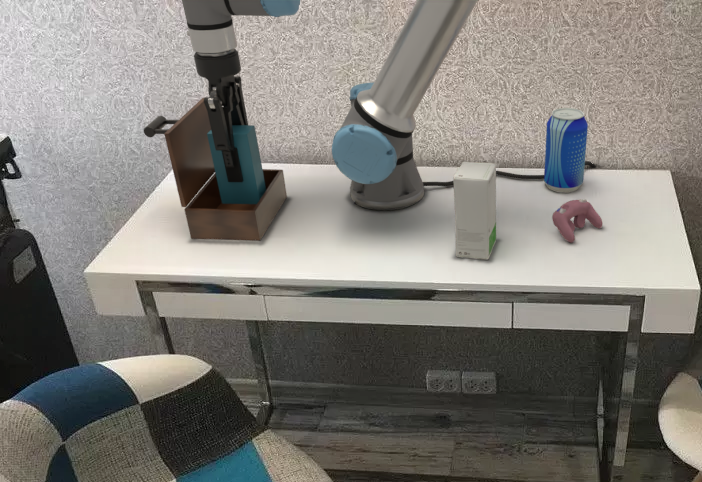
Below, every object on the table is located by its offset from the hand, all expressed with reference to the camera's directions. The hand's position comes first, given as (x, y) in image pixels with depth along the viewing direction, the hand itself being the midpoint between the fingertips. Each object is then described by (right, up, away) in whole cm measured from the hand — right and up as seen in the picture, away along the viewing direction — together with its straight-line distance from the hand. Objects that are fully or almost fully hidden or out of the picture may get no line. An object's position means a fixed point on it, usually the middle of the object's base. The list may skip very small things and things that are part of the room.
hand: (240, 175), depth 151 cm
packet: (0, -4, +3) cm, 5 cm away
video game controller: (+65, -11, +2) cm, 65 cm away
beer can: (+64, +1, +19) cm, 67 cm away
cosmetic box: (+45, -15, -4) cm, 48 cm away
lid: (-7, +4, -2) cm, 9 cm away
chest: (-1, -8, +5) cm, 9 cm away
